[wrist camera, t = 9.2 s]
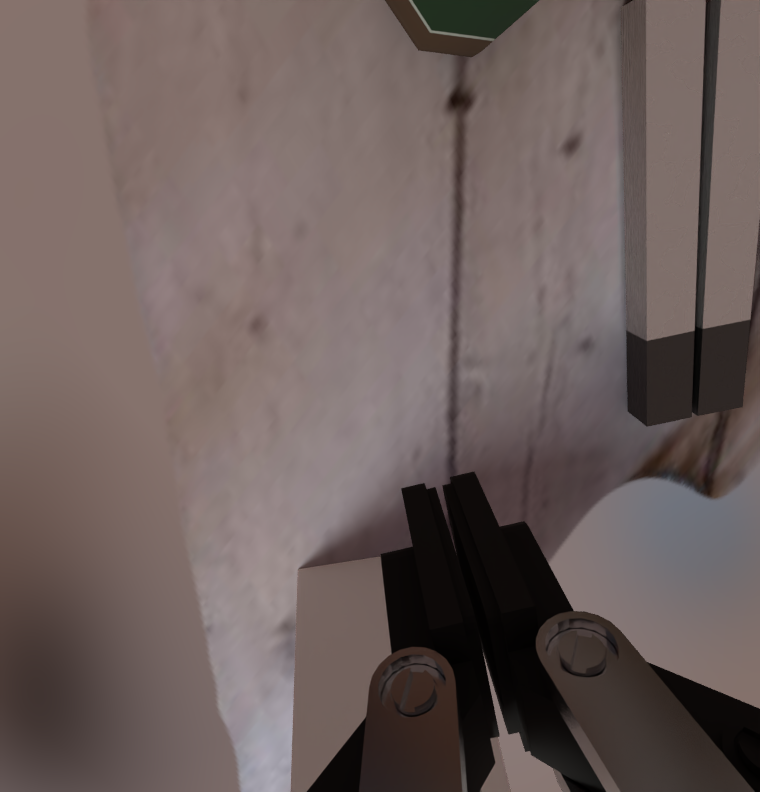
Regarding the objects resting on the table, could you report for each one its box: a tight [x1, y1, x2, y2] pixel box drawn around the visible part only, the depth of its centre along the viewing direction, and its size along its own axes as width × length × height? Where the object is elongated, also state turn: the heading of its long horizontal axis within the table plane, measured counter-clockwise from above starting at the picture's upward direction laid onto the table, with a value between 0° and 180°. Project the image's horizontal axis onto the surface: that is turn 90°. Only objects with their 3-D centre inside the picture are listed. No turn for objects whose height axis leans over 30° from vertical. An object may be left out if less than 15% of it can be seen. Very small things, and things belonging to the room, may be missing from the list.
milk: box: [291, 556, 511, 792], centre depth 31 cm, size 12×12×26 cm
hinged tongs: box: [692, 0, 760, 416], centre depth 31 cm, size 30×7×3 cm, turn 10°
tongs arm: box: [621, 0, 706, 426], centre depth 31 cm, size 26×5×2 cm, turn 11°
